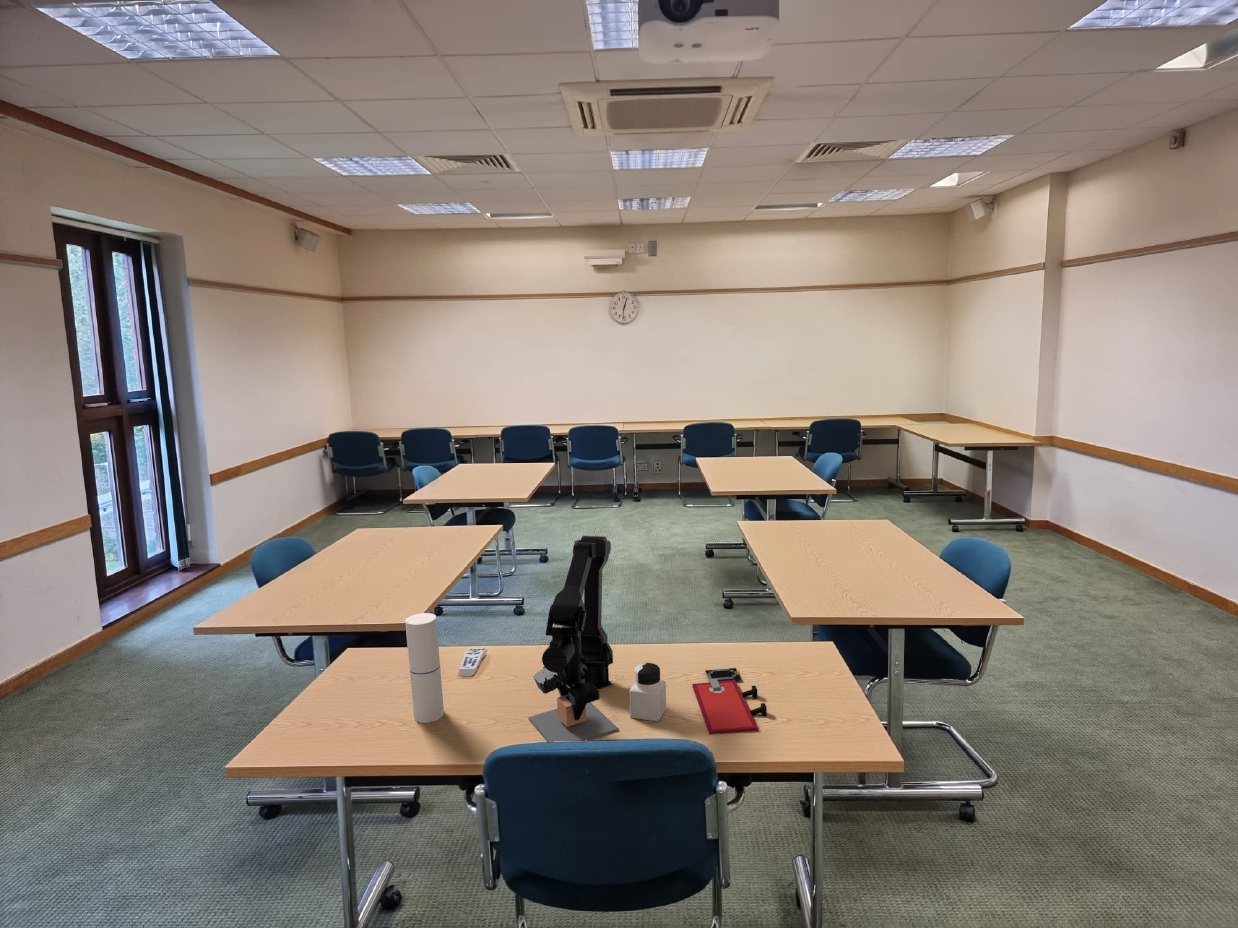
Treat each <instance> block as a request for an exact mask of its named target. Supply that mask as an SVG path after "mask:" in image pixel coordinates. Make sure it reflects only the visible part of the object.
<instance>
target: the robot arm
mask: <svg viewBox="0 0 1238 928" xmlns="http://www.w3.org/2000/svg"><path fill="white" fill-rule="evenodd" d="M611 550H612V543H611V541H610V540H608V538H607V536H601V535H600V536H597V535H596V536H595V535H582V536H581V537H580V539H578V540H574V542H573V547H572V558H571V561H570V565H569V568H568V572H567V575H566V579H565V583H564V586H563V588H562V589H561V590H560V591H559V592H558V593H556V595H555V597H554V600H553V602H552V604H551V605H550V607H549V610H548V615H547V616H548V617H547V621H546V629H545V636H549V637H550V636H551V640H550V641H549V644H548V646H547V648H545V650H544V651H543V653H542V657H541V661H542V662H541V663H542V664H543V668H542V669H540V670H539V671H537V672H536V673H534V675H533V680H534V681H535V683H536V686H537V688H538V689H539V690H540V691H541V692H542V694H545V695H547V694H549V693H550V692H554V691H555V690H558V693H559V697H561V696H565V695H568V694H569V696H565V698H566V699H567V700H568V701H569V702H571V705H572V710H573V715H574V719H575V720H579V719H580V717H581V715H582V713H583V710H584V708H585V706H586V704H587V703H590V702H591V703H593V702H595V701H599V700H600V698H601V695H600V693H601V691H600V689H603V688H606V687H610V686H612V684H613V682H612V681H611V680H610V679H609V677H610V676H609V675H610V673H609V672H610V671H609V666H610V665H612V664H614V651H613V649H612V647H611V645H610V644H609V643H608V634H607V633H606V631H605V629H604V628H603V625H602V617H603V616H602V613H603V612H602V611H603V610H602V608H603V607H602V606H603V605H602V601H603V570H604V568H605V566H606V564H607V563H608V561H609V556H610V554H611ZM553 625H554V626H553ZM556 626H558V627H556ZM560 626H561V627H560Z"/></svg>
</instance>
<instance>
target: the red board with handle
mask: <svg viewBox="0 0 1238 928" xmlns="http://www.w3.org/2000/svg"><path fill="white" fill-rule="evenodd" d="M704 671H705V674H706V677H707V679H708V681H709V682H698V683H692V686H691V687H692V690H693V692H694V695H695V698H696V700H697V701H696V702H697V703H698V707H699V710H700V712H701V714H702V717H703V721H704V722H705V726H706V729H707V732H708V734H709V735H718V734H722V735H723V734H731V733H732V734H733V733H749V732H759V728H758V727H759V726H757V723H756V721H755V719H754V716H756V715H759V714H761V716H762V717H767V715H768V712H767V711H768V709H767V708H768V707H767V705H766V703H765V702H760V706H759V707H757V708H756V707H755V708H753V709H751V710H750V707H748V704H747V702H746V700H745V698H748V697H749V696H752V698H753V699H754V700H757V699H758V688H757V686H756V685H751V689H749V690H746V691H741V690H740V687H739V685H738V683H737V681H739V680H742V678H741V676H740V674H739V672H738V670H737V668H736V667H730V668H718V669H706V670H704Z"/></svg>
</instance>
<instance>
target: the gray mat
mask: <svg viewBox="0 0 1238 928" xmlns="http://www.w3.org/2000/svg"><path fill="white" fill-rule="evenodd" d="M527 719H528V721H529V722H530V724H532V726H533V727H534V729H536V730H537V731H538V732H539V734H540V735H541V736H542V737H543V740H545V741H546V743H548V742H554V741H585V740H588V741H591V740H593V739H597V738H600V737H603V736H605V735H609V734H611V733H615V732H618V731H620V730H619V729H620V728H619V727H618V726H617V725H616V724H614V722H612V721H611V720H610V719H609V718H608V716H606V715H605V714H604V713H603V712H602V711H600V709H598V707H596V706H595V705H594V704H593V702H590V703H587V704H586V721H584V722H581V723H578V724H575V725H572V726H568V727H566V725H565V724H564V723H563V722H562V721H561V720H560V719H559V718H558V709H557V708H555V709H551V710H548V711H544V712H541V713H538V714H534V715H531V716H529V717H527ZM585 742H586V741H585Z"/></svg>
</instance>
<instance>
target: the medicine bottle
mask: <svg viewBox="0 0 1238 928" xmlns="http://www.w3.org/2000/svg"><path fill="white" fill-rule="evenodd" d="M634 680H635V681H634V683H633V685H632V686H631V688H630V689H629V710H630V711H629V713H630V714H629V716H630V718H633V719H637V720H645V721H652V722H656V723H657V722H660V720H661V718H662V716H663V714H664V712H665V711H666V709H667V683H666V682H667V681H666V680H661V668H660V666H659V665H658V664H656V663H653V662H643V663H639V664H638V665H637V666H635V668H634Z"/></svg>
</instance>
